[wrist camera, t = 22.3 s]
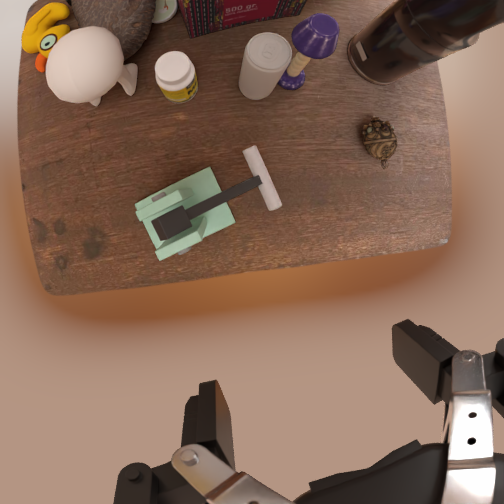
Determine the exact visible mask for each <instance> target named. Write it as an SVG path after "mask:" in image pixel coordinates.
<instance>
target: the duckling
mask: <svg viewBox="0 0 504 504" xmlns="http://www.w3.org/2000/svg"><path fill="white" fill-rule="evenodd" d="M69 14H70V10H69V8H68V6H67V5H65V4H62V3H49V4H47V5H46V6H44V7H43V8H41V9H40V10H39V11H38V12H37V13H36V14H35V15H33V16H32V17H31V18H30V19H29V21H28V22H27V24H26V26H25V28H24V31H23V33H22V47H23V49H24V50H25V51H26V52H28V53H36V52H40V53H39V54H38V56H37V58H36V62H35V66H36V68H37V70H38V71H39V72H45V71H46V69H45V66H46V63H47V60H48V56H49V53H50V51H51V50H52V48H53V46H54V45H55V44H56V43H57V42H58V41H59V39H60V38H61V37H63V36H65V35H66V34H68V33H69V32H70V27H69V26H68V25H64V24H62V25H59V26H54V27H52V26H53V25H54V24H55V23H56V22H57V21H58V20H63V19H66V18H67V17H68V16H69Z"/></svg>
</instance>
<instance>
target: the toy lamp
mask: <svg viewBox="0 0 504 504" xmlns="http://www.w3.org/2000/svg"><path fill="white" fill-rule="evenodd" d="M338 36H339V25H338V23H337V22H336V20H335V19H334V18H333V17H331V16H329V15H327V14H323V13H317V14H313V15H311V16H310V17H308V18H306V19H305V20H303V21H302V22H300V23H299V24H298V25H296V27H295V28H294V29H293V31H292V42H293V45H294V46H295V48H296V49H297V50H298V52H297V54H296V55H295V57H294V58H293V59H292V62H291V63H289V65H288V67H287V68H286V70H285V71H284V73H283V75H282V76H281V78H280V79H279V81H278V84H279V85H280V86H281V87H283V88H284V89H287V90H295V89H298V88H300V87H301V86H302V85H303V83H304V81H305V73H304V71H303V68H304V67H305V66H306V64H308V63H309V60H310V59H311V58H313V59H323V58H326V57H328V56H330V55H331V54H332V53H333V52H334V51H335V49H336V45H337V41H338Z"/></svg>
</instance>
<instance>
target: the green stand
mask: <svg viewBox="0 0 504 504" xmlns="http://www.w3.org/2000/svg"><path fill="white" fill-rule="evenodd" d="M220 192H222V191H221V189H220V187H219V185H218V183H217V181H216V178H215V176H214V174H213V172H212V170H211V168H210V167H208V168H205V169H203V170H201V171H199V172H197V173H195V174H193V175H191V176H189V177H186V178H184V179H182V180H180V181H178V182H176V183H174V184H172V185H170V186H168V187H166V188H164V189H162V190H160V191H159V192H157V193H155V194H153V195H151V196H149V197H147V198H145V199H143V200H141V201H140V202H138V203H136V204H135V206H136V208H137V211H136V214H137V217H138V219H139V221H143V223H144V225H145V227H146V229H147V231H148V233H149V235H150V237H151V239H152V241H153V243H154V245H155V247H156V249H157V250H156V251H155V253H156V255H157V257H158V259H159V261H161V260H163V259H165V258H167V257H169V256H171V255H173V254H175V253H178V255H181V254H184V253H186V252H188V251H189V250H191V246H192V245H194V244H196V243H198V242H200V241H202V239H203V238H204V237H206V236H208V235H210V234H212V233H215V232H217V231H219V230H221V229H223V228H225V227H227V226H229V225H232V224H234V223H236V222H235V220H234V217H233V215H232V213H231V211H230V209H229V207H228V204H227V202H225V203H223V204H221V205H219V206H217V207H215V208H213V209H211V210H209V211H207V212H205V213H203V214H201V215H199V216H197V217H196V218H194V219H192V220H190V221H191V224H192V227H190V228H188V229H187V230H185V231H183V232H181V233H179V234H177V235H176V236H174V237H172V238H170V239H168V240H164V241H160V239H159V237H158V235H157V233H156V231H155V229H154V227H153V225H152V223H151V220H153V219H155V218H157V217H159V216H161V215H163V214H165V213H167V212H169V211H171V210H173V209H175V208H177V207H179V206H181V205H183V207H184V209H185V210H186V209H188V208H190V207H192V206H194V205H196V204H198V203H200V202H202V201H204V200H206V199H208V198H210V197H212V196H214V195H216V194H218V193H220Z"/></svg>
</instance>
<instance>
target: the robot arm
mask: <svg viewBox="0 0 504 504" xmlns="http://www.w3.org/2000/svg"><path fill="white" fill-rule="evenodd" d="M502 23H504V0H394V1H393V2H392V3H391V4H390V5H388V6H387V7H386V8H385V9H384V10H383V11H382V12H381V13H380V14H378V15H377V16H376V17H375V18H374V19H373V20H372V21H371V22H370V23H369V24H368V25H367V26H366V27H364V28H363V29H362V30H361V31H360V32H359V33H358V34H356V35H355V36H354V37H353V38H352V39H351V40H350V42H349V44H348V57H349V60H350V62H351V64H352V66H353V68H354V69H355V70H356V72H357V73H358V74H359V75H360V76H362V77H363V78H364V79H366V80H367V81H369V82H371V83H373V84H377V85H389V84H391V83H393V82H395V81H396V80H398V79H400V78H402V77H404V76H406V75H408V74H410V73H412V72H414V71H416V70H418V69H420V68H422V67H424V66H427V65H429V64H431V63H433V62H435V61H437V60H439V59H442V58H444V57H446V56H448V55H450V54H453V53H455V52H457V51H460V50H462V49H464V48H467V47H469V46H471V45H473V44H475V43H476V42H477V40H478V38H479V34H480V32H483V31H485V30H487V29H489V28H492V27H494V26H496V25H498V24H502ZM392 343H393V357H394V360H395V362H396V364H397V365H398V366H399V367H400V368H401V369H402V370H403V371H404V373H405V374H406V375H407V376H408V377H409V378H410V379H411V380H412V381H413V382H414V383H415V384H416V386H417V387H418V388H419V389H420V390H421V391H422V392H423V393H424V394H425V395H426V396H427V397H428V399H429V400H430V401H431V402H432V403H433V404H436V403H438V402H440V401H442V400H443V401H444V402H445V406H444V414H443V425H442V433H441V441H440V443H430V444H424V445H421V444H420V443H419V442H418V441H417V440H414V441H412V442H411V443H409V444H407V445H405V446H402V447H400V448H398V449H396V450H394V451H392V452H391V453H389V454H388V455H387V456H385V457H384V458H383V459H381V460H380V461H378V462H377V463H375V464H374V465H373V466H371V467H369V468H367V469H362V470H357V471H351V472H344V473H338V474H334V475H331V476H328V477H326V478H322V479H319V480H316V481H312V482H310V483H309V486H310V489H311V490H309V491H307V492H305V493H303V494H302V495H300V496H299V497H298V498H296V499H295V500H294V501H293V502H292V501H290V500H288V499H286V498H285V497H283V496H281V495H280V494H278V493H277V492H275V491H273V490H271V489H270V488H268V487H267V486H265V485H264V484H262V483H261V482H259V481H257V480H256V479H255V478H253V477H252V476H250V475H249V474H247V473H245V472H240V473H238V472H236V471H235V461H234V450H233V438H232V426H231V416H230V411H229V408H228V405H227V403H226V400H225V398H224V395H223V393H222V390H221V388H220V385H219V383H218V381H217V380H213V381H208V382H203V383H200V384H199V395H196V396H191V397H190V399H189V400H188V402H187V403H186V405H185V413H184V414H185V416H184V423H183V431H182V432H183V433H182V442H181V448H179V449H178V450H177V451H176V452H175V453H174V454H173V456H172V459H171V461H170V462H168V463H166V464H163V465H160V466H157V467H154V468H150V467H149V466H148V465H146V464H144V463H132V464H129V465H127V466H126V467H124V468H123V469H122V470H121V471H120V473H119V475H118V480H117V485H116V491H115V497H114V503H113V504H504V454H501V453H494V452H493V415H492V406H493V407H494V408H495V409H496V410H497V411H498V413H499V414H500V415H501V416H502V417H503V418H504V338H503V339H501V340H499V341H498V343H497V344H496V349H495V351H494V352H491V353H488V354H485V355H480V354H479V353H478V352H476V351H473V350H463V351H459V350H458V349H457V348H456V347H454V346H453V345H452V344H450V343H449V342H447V341H446V340H445V339H444V338H443V339H442V337H441V336H440V335H438V334H437V333H436V332H434V331H433V330H432V329H430V328H428V327H425V326H422V325H419V326H417V325H415V324H414V323H413V322H412V321H410V320H409V319H407V320H404V321H402V322H400V323H397V324H395V325H393V327H392Z"/></svg>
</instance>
